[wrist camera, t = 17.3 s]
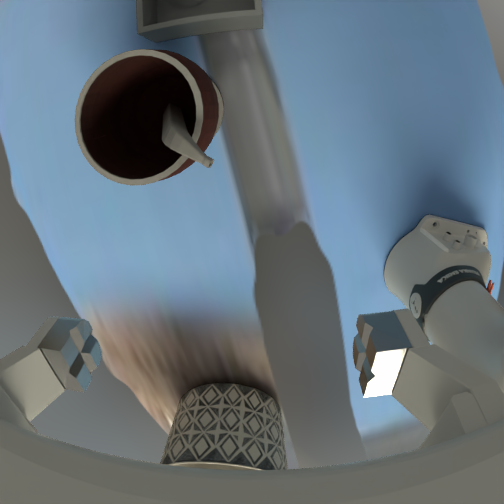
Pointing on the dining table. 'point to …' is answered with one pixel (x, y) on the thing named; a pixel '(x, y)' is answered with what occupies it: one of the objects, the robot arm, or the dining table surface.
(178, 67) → the mate gourd
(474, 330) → the robot arm
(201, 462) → the planter
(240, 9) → the bin
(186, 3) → the beer glass
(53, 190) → the dining table surface
